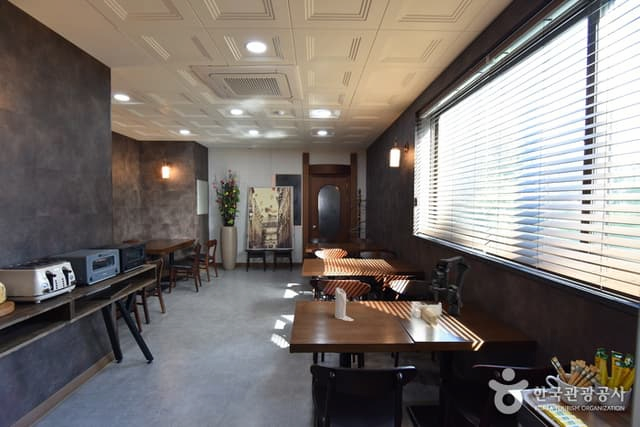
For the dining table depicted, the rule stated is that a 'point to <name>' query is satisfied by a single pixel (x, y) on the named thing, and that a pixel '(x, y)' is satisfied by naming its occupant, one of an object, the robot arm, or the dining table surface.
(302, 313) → the dining table surface
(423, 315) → the rail
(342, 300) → the white boot
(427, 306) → the headboard
